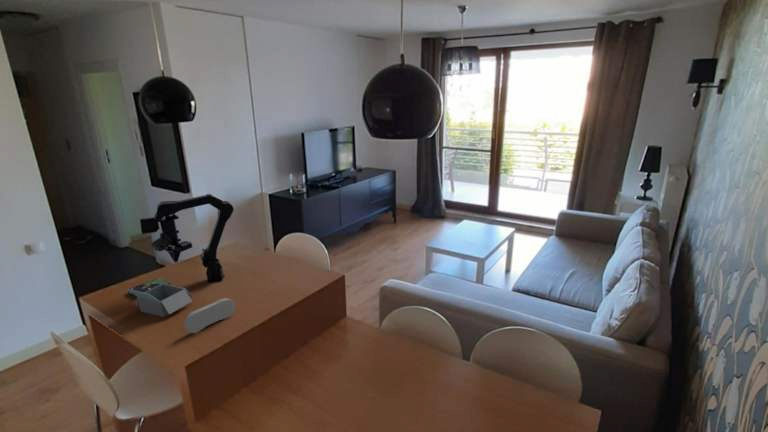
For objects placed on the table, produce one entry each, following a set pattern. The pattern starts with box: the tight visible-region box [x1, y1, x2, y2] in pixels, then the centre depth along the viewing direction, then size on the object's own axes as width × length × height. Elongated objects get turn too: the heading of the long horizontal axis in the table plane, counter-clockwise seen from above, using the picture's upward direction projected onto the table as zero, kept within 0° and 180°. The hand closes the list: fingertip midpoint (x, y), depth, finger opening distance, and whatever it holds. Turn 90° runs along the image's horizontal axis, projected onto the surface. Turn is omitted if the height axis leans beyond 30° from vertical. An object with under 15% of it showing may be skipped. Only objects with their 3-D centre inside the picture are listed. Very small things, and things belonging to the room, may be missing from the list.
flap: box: [126, 288, 159, 302], centre depth 155 cm, size 6×13×1 cm
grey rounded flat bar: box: [183, 297, 236, 334], centre depth 149 cm, size 20×2×8 cm, turn 141°
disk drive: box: [127, 277, 171, 301], centre depth 181 cm, size 10×3×15 cm
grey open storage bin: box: [135, 284, 194, 319], centre depth 165 cm, size 15×20×7 cm
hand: (176, 261), depth 178 cm, fingers closed
